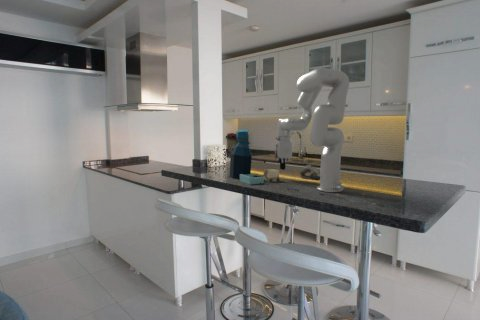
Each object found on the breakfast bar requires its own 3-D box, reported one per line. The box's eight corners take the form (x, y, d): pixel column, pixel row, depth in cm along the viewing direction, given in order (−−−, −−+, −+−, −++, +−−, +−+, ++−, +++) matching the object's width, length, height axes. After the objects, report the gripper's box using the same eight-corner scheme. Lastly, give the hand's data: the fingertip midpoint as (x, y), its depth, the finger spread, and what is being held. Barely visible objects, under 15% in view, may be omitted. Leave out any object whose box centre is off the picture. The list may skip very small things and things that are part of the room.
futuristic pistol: (317, 188, 184) (325, 174, 181) (298, 175, 191) (305, 161, 188) (319, 187, 186) (326, 174, 182) (299, 175, 193) (306, 161, 190)
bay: (263, 183, 171) (263, 176, 171) (249, 184, 167) (249, 177, 167) (253, 180, 182) (253, 173, 182) (239, 181, 178) (239, 174, 178)
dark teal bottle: (251, 179, 184) (252, 129, 181) (228, 179, 185) (228, 129, 182) (250, 174, 205) (251, 129, 202) (230, 173, 206) (230, 129, 202)
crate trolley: (279, 181, 179) (279, 170, 178) (269, 182, 176) (269, 171, 175) (272, 179, 186) (272, 169, 185) (262, 180, 183) (263, 169, 182)
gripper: (276, 139, 176) (275, 170, 178) (297, 139, 182) (296, 169, 185) (269, 138, 182) (268, 169, 185) (290, 138, 189) (288, 167, 191)
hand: (282, 169), depth 185 cm, fingers closed
